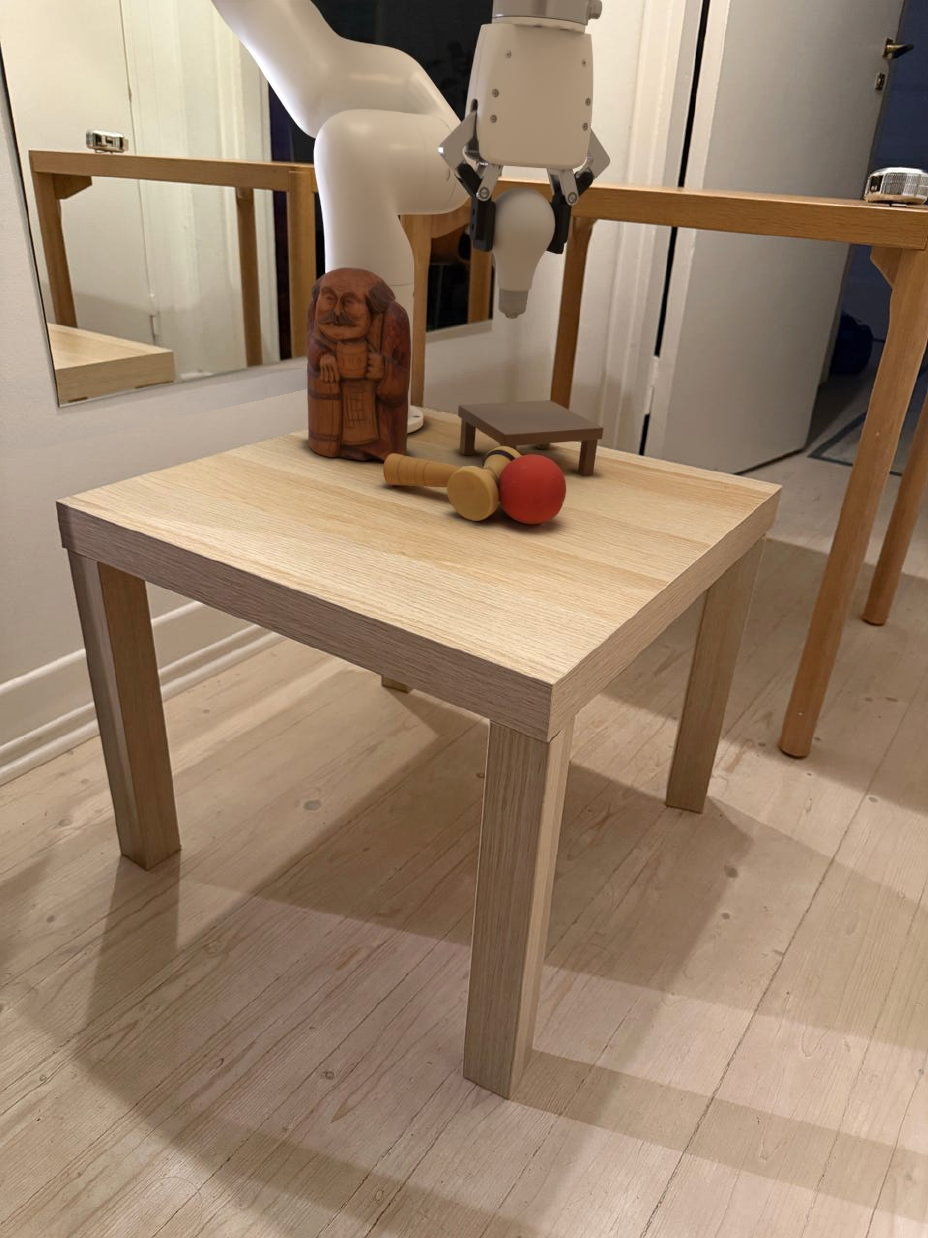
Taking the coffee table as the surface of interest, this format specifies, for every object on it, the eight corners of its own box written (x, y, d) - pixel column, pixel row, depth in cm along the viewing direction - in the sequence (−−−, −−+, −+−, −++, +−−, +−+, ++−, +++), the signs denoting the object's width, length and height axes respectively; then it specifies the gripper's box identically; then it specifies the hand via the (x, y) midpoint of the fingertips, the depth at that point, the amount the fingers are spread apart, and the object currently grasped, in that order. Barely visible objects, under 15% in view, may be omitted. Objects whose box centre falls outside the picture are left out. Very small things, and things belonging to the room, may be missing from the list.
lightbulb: (466, 312, 84) (475, 182, 79) (521, 311, 87) (534, 185, 82) (499, 326, 80) (512, 188, 75) (557, 324, 83) (572, 191, 77)
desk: (455, 451, 97) (458, 404, 95) (545, 444, 102) (550, 399, 99) (501, 484, 88) (505, 434, 86) (597, 475, 93) (603, 427, 90)
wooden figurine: (289, 452, 94) (283, 266, 85) (314, 436, 99) (311, 260, 91) (398, 468, 91) (403, 278, 83) (417, 450, 97) (424, 271, 88)
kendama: (364, 510, 84) (539, 532, 75) (365, 440, 82) (543, 454, 73) (412, 503, 90) (578, 522, 81) (414, 438, 89) (583, 450, 80)
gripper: (612, 24, 78) (584, 248, 87) (422, -1, 72) (412, 242, 81) (658, 18, 72) (623, 259, 81) (454, -9, 66) (439, 254, 75)
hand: (517, 248), depth 81 cm, fingers closed on lightbulb, 6 cm apart
